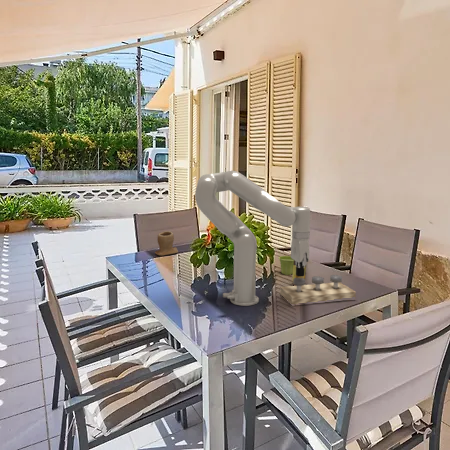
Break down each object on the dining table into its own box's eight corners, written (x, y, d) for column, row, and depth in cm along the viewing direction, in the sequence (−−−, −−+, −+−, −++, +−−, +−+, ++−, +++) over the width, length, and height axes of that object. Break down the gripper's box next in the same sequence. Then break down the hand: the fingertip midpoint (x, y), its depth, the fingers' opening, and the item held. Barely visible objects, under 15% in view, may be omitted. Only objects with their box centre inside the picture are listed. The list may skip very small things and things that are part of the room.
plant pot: (295, 271, 224) (295, 256, 222) (296, 276, 214) (297, 260, 213) (278, 270, 225) (278, 255, 223) (278, 275, 215) (279, 260, 214)
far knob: (333, 291, 181) (333, 278, 180) (327, 287, 186) (328, 275, 185) (343, 290, 182) (344, 277, 181) (337, 286, 187) (338, 274, 186)
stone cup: (160, 258, 252) (159, 234, 249) (153, 254, 262) (152, 231, 259) (182, 254, 259) (182, 232, 257) (174, 251, 269) (174, 229, 267)
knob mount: (292, 306, 173) (292, 297, 172) (280, 295, 186) (280, 286, 185) (355, 300, 180) (355, 291, 179) (339, 290, 193) (339, 282, 192)
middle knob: (314, 293, 179) (315, 280, 178) (309, 289, 184) (310, 276, 183) (325, 292, 180) (325, 279, 179) (320, 288, 185) (320, 275, 184)
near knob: (295, 294, 177) (296, 281, 176) (291, 291, 182) (291, 278, 181) (306, 293, 178) (307, 280, 177) (301, 290, 183) (302, 277, 182)
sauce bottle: (295, 288, 196) (296, 248, 192) (290, 284, 202) (291, 245, 198) (307, 286, 198) (309, 247, 194) (302, 282, 204) (303, 244, 200)
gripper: (286, 232, 182) (285, 271, 185) (299, 239, 168) (298, 281, 171) (301, 231, 184) (300, 270, 187) (316, 238, 169) (315, 280, 173)
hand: (299, 275), depth 179 cm, fingers closed
